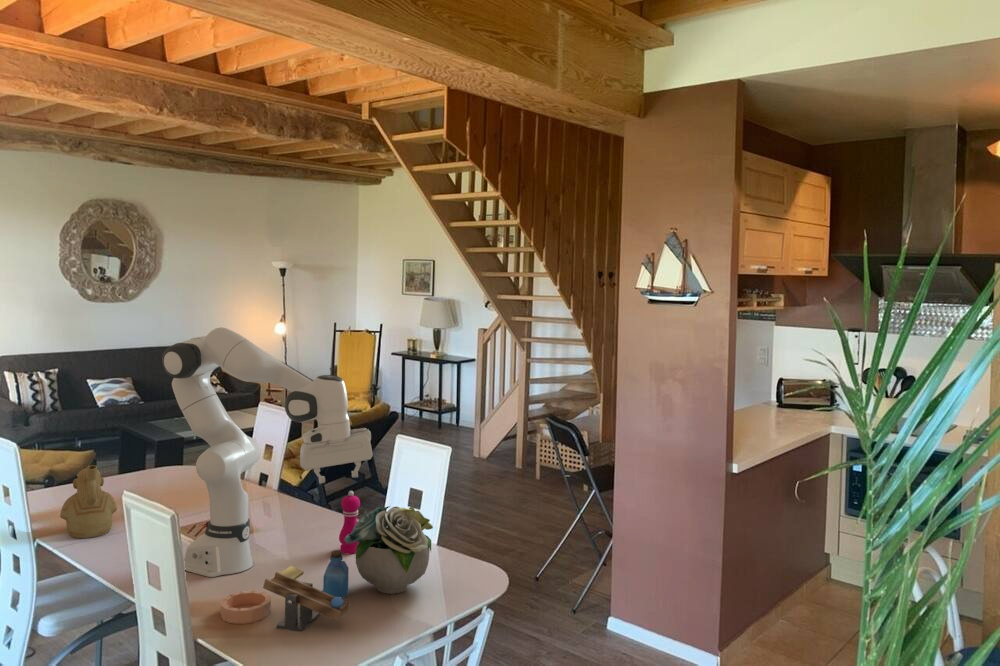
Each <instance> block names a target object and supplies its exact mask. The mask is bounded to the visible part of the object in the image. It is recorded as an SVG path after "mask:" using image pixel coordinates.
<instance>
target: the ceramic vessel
mask: <svg viewBox="0 0 1000 666" xmlns="http://www.w3.org/2000/svg"><path fill="white" fill-rule="evenodd" d="M76 476H77V478H74V479H73V481H72V487H73V489H74V490H76V492H75V493H74V494H72V495H71V496H69V497H68V498H67V499H66V500H65V501H64V503H63V505H62V507H61V509H60V510H61V511H60V515H59V517H60V518H61V519H62V520H65V521H66V522H65V525H66V531H67V533H68V535H69V536H71V537H72V538H76V539H91V538H95V537H101V536H103V535H106V534H108V533H109V532H110V530H111V529H112V527H113V526H112V525H113V515H114V513H116V512H117V510H118V508H117V507H118V506H117V503H116V501H115V499H114V497H113V496H112V494H110V493H109V492H106V491H104V490H103V489H102V487H103V486H104V484H105V480H104V477H103V476H101V472H100V470H99V469H98V466H97V465H94V464H91V465H88V466H86V467H85V468H83V469H81V470H80V471H78V472H77V474H76Z"/></svg>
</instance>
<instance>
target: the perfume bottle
mask: <svg viewBox="0 0 1000 666" xmlns="http://www.w3.org/2000/svg"><path fill="white" fill-rule="evenodd" d="M330 554H331V555H330V556H329V557H330V558H329V560H330V561H329V563H328V564H327V567H326V569H325V571H324V574H323V585H322V587H323V589H322V591H323V592H325V593H328V594H330V595H332V596H335V597H346V598H347V595H348V591H349V567H348V564H347V563H346V561H345V560H343V555H342V554H343V553H342V551H340V549H336V550H335V549H334V550H332V551H331V552H330ZM346 594H347V595H346Z"/></svg>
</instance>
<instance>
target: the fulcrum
mask: <svg viewBox="0 0 1000 666" xmlns="http://www.w3.org/2000/svg"><path fill="white" fill-rule="evenodd" d="M301 582H302V581H301ZM302 583H304V584H307V585H309V586H311V587H313V586H314V585H313V583H311V582H302ZM284 599H285V600H284V602H285V603H284V605H285V606H284V607H285V609H284V618H283V619H282V620H280V622H278V623H277V624H276V629H281V630H288V631H293V632H294V631H295V632H300V633H301V632H303V631H304V630H305V629H307V627H309V626H310V625H311V624H312V623H313V622H314V621H315V620H317V619H318V618H319V617H320V616H321V613H319V612H316V611H314V610H312V609H310V608H307V607H305V606H303V605H300V604H298V595H295V594H288V593H287V594H286V595H285V598H284Z"/></svg>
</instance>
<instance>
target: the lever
mask: <svg viewBox="0 0 1000 666" xmlns="http://www.w3.org/2000/svg"><path fill="white" fill-rule="evenodd" d="M304 572H305V571H304V570H302V569H299V568H297V567H295V566H292V565H290V566H289V567H287V568H286V569H284V570H283V571H281V572H279V571H276V572H275V574H274V577H273V578H271V579H268V578H265V579H264V583H263V587H262V588H263V589H264V590H267V591H269V592H271V593H273V594H275V595H278V596H280V597H283V598H284V599H285V595H286V594H287V593H288V594H295V595H298V605H299V606H300V605H303V606H305V607H307V608H310V609H312V611H316V612H319V613H320V615H321V614H322V615H323V616H326V617H328V618H330V619H333V620H335V621H339V620H341V619H342V617H344V616H345V615H346V614H347V613H348V612H349V610H350V604H351V603H350V601H348V600H346V601H345V600H344V599H343V602H344V603H343V605H342V606H341V607H340V608H339V610H337V609H335V608H333V607H331V601H332V599H333V598H335V596H332V595H330V594H328V593H325V592H323V590H320V589H318V588H316V587H311V586H309V585H307V584H304V583H302V581H299V580H297V579H299V578H300V577H301V576H303V574H304Z"/></svg>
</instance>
